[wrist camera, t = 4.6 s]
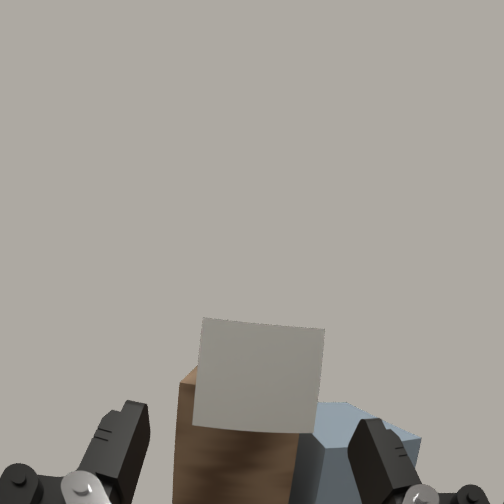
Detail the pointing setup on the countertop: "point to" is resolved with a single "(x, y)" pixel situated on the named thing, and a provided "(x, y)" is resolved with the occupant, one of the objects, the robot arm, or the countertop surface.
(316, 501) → the blue stand
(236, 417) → the light grey square-ended block
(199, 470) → the walnut stand
